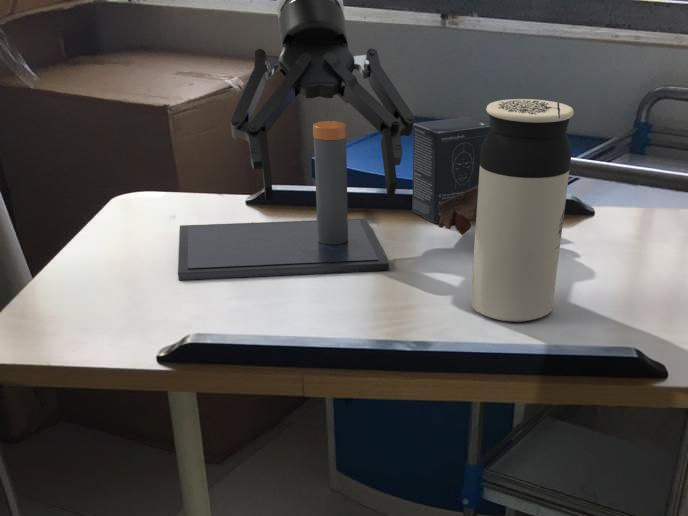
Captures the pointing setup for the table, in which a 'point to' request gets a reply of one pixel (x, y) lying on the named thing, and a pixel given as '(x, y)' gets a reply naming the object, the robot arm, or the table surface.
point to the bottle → (331, 181)
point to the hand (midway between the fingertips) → (331, 192)
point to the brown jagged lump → (459, 211)
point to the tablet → (274, 250)
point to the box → (445, 162)
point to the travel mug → (520, 209)
